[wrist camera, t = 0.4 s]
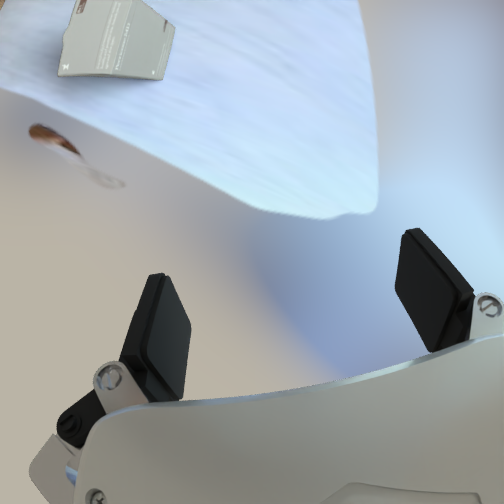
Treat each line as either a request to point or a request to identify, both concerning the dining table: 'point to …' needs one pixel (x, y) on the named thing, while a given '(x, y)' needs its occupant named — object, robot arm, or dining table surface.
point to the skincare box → (116, 40)
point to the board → (1, 3)
